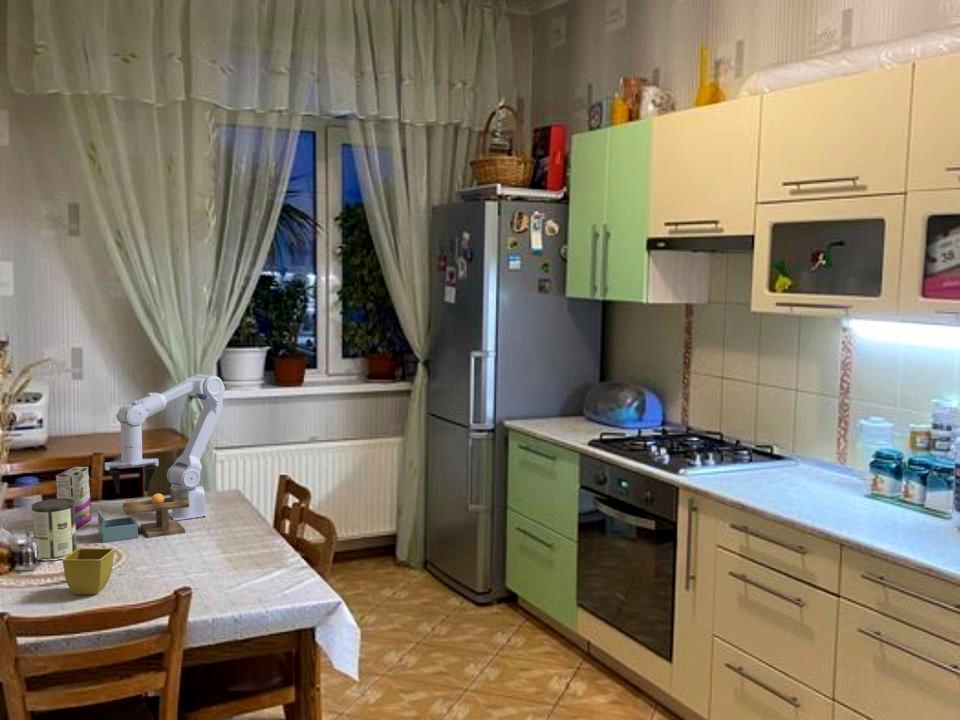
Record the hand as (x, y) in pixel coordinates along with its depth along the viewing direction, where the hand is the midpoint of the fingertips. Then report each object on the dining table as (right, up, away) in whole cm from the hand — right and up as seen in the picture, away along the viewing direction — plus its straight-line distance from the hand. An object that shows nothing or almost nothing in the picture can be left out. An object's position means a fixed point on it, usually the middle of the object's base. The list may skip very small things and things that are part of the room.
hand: (132, 492), depth 259 cm
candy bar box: (-18, -11, +3) cm, 21 cm away
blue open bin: (-1, -11, -8) cm, 14 cm away
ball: (+9, -2, -3) cm, 9 cm away
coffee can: (-10, -13, -26) cm, 30 cm away
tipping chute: (+7, -4, -1) cm, 8 cm away
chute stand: (+10, -11, -2) cm, 15 cm away
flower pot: (+11, -16, -53) cm, 56 cm away
